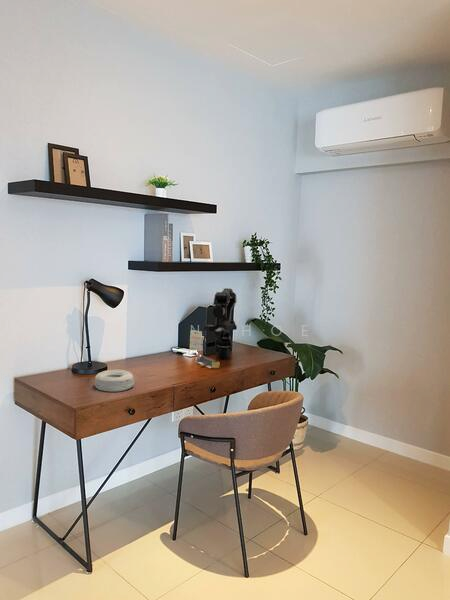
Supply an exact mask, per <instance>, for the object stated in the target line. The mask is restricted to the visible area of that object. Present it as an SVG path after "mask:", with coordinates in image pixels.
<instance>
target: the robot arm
mask: <svg viewBox="0 0 450 600" xmlns="http://www.w3.org/2000/svg"><path fill="white" fill-rule="evenodd" d="M236 303H237V293H235V292H234V291H233V289H232V288H223V290H222V291H218V292H216V293H215V294H214V299H213V306H215V307H214V308H213V309H212V315H213V316H214V319H215V323H214V324H213V325H212V324H206V325H204V327H203V330H204V331H206V332H209V333H212V332H214V334H215V337H216V339H215V345H216V346H215V347H216V349H217V352H216V353H217V355H216V356H215V358H216V359H219V360H222V361H223V360H224V361H225V360H230V359H231V357H230V351H231V350H233V340H232V339H231V335H230V332H229V331H235V330H236V331H237V329H238V326H237V324H236V321H235V320H231V317H232V310H233V309H234V308H235V307H236Z"/></svg>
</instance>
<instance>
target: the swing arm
mask: <svg viewBox="0 0 450 600" xmlns="http://www.w3.org/2000/svg"><path fill="white" fill-rule="evenodd" d="M196 360H197V361H198V362H201V363H204V364H206V365H205V366H211V367H213V368H212V369H219V368H220V366H221V365H220V361H218V360H216V359H215V360H214V359H212V358H210V357H207V356H205V355H202V354H198V355H196Z"/></svg>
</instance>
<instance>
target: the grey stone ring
mask: <svg viewBox="0 0 450 600" xmlns="http://www.w3.org/2000/svg"><path fill="white" fill-rule="evenodd" d="M134 384H135V379H134V376H133V374H132V372H130V371H128V370H124V369H107V370H103V371H101V372H98V373H97V374H96V375H95V377H94V387H95V388H96V389H97V390H99V391H104V392H123V391H126V390H129V389H132V387H133V386H134Z"/></svg>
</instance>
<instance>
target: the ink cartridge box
mask: <svg viewBox="0 0 450 600" xmlns="http://www.w3.org/2000/svg"><path fill="white" fill-rule="evenodd" d="M189 334H190V335H189V351H190V350H197V352H198V354H202V355H203V340H204V336H202V335H203V331H201V330H200V331H199V330H195V329H194V330H193V329H191V330H190V333H189Z"/></svg>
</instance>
